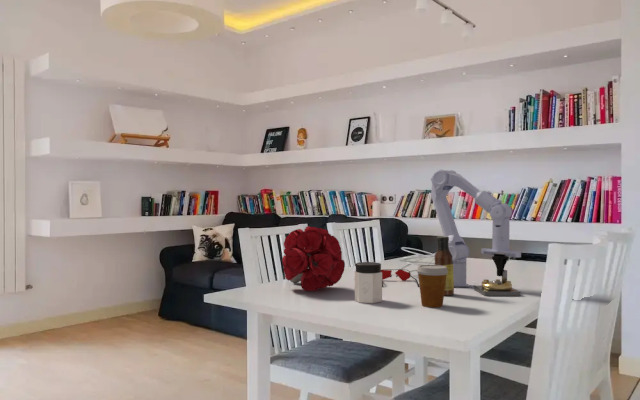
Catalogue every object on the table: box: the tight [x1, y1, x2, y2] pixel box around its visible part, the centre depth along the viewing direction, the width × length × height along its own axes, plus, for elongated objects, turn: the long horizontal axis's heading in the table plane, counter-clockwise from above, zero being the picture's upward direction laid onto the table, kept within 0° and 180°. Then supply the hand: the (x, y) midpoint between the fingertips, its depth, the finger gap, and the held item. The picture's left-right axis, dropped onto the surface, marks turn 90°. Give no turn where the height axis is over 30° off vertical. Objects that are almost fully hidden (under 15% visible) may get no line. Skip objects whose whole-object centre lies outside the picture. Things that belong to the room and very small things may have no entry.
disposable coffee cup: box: [415, 264, 448, 308], centre depth 158 cm, size 10×10×12 cm
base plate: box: [473, 285, 521, 297], centre depth 179 cm, size 12×12×2 cm
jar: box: [354, 261, 383, 304], centre depth 165 cm, size 9×8×12 cm
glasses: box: [381, 268, 420, 288], centre depth 198 cm, size 14×16×5 cm
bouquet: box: [281, 225, 346, 292], centre depth 188 cm, size 22×24×30 cm
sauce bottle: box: [434, 235, 455, 297], centre depth 176 cm, size 6×6×20 cm
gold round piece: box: [481, 269, 513, 291], centre depth 179 cm, size 10×10×6 cm
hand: (500, 275), depth 182 cm, fingers closed, pressing on gold round piece
